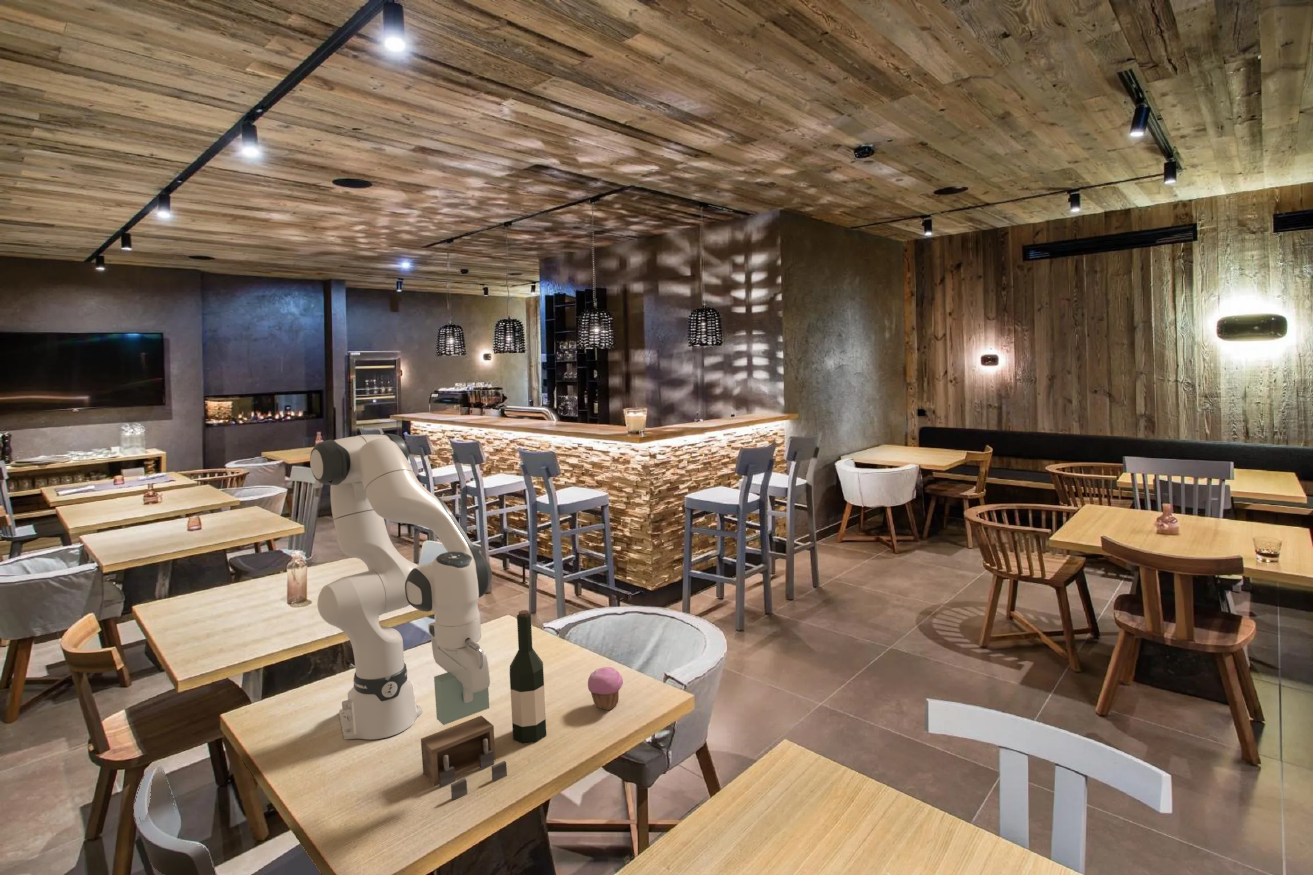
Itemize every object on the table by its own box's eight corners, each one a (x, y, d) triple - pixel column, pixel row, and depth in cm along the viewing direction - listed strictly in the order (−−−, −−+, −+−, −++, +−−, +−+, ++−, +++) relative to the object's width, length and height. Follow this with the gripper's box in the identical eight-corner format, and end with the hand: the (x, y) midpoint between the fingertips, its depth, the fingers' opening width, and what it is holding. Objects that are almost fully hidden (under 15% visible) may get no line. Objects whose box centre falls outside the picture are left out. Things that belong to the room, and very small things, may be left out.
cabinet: (423, 773, 145) (420, 738, 144) (483, 748, 154) (481, 715, 153) (448, 802, 135) (446, 764, 134) (511, 773, 144) (509, 738, 143)
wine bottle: (539, 745, 154) (533, 619, 151) (506, 742, 156) (499, 617, 153) (552, 726, 163) (547, 606, 160) (520, 723, 164) (514, 604, 161)
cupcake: (628, 701, 174) (627, 664, 173) (614, 717, 166) (613, 678, 165) (597, 696, 177) (596, 659, 176) (582, 711, 169) (581, 673, 168)
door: (436, 718, 137) (434, 676, 136) (482, 702, 144) (479, 661, 143) (445, 727, 134) (443, 684, 133) (492, 710, 140) (489, 668, 139)
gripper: (496, 642, 132) (499, 709, 133) (453, 615, 147) (456, 675, 149) (465, 651, 128) (469, 721, 129) (424, 622, 143) (428, 684, 145)
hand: (462, 696), depth 139 cm, fingers closed on door, 3 cm apart
